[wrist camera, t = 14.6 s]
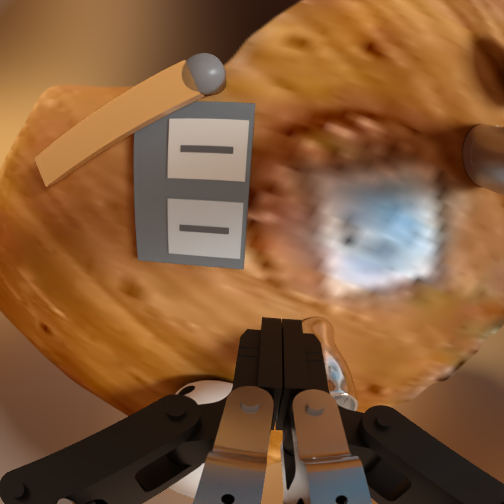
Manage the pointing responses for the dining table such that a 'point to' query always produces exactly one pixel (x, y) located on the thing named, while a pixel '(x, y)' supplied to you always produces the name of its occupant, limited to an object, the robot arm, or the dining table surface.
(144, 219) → the label board
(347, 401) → the beer glass
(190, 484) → the milk container
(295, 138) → the dining table surface
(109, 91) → the dining table surface
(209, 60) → the swing bar
